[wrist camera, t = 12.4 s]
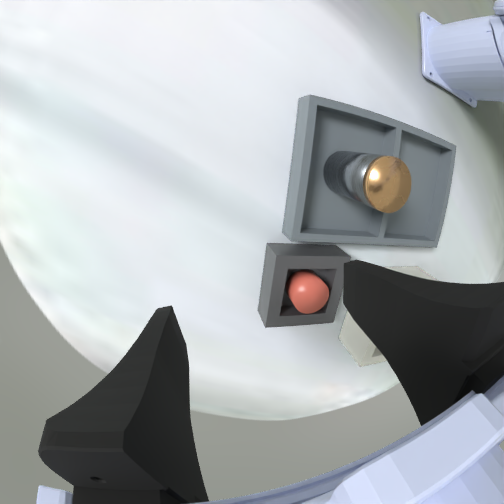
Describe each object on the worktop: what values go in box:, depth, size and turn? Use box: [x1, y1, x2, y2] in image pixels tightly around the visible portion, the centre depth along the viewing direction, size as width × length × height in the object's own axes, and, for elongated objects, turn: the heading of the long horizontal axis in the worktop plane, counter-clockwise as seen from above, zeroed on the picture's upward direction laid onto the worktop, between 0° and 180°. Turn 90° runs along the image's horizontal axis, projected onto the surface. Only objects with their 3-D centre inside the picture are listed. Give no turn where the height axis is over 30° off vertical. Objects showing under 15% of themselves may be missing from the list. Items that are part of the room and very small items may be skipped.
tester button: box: [286, 269, 329, 314], centre depth 21 cm, size 3×3×2 cm
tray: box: [282, 95, 456, 247], centre depth 21 cm, size 16×10×2 cm, turn 84°
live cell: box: [323, 151, 411, 213], centre depth 18 cm, size 3×3×6 cm
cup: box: [339, 266, 438, 367], centre depth 25 cm, size 8×8×5 cm
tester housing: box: [258, 243, 350, 328], centre depth 22 cm, size 6×6×2 cm
